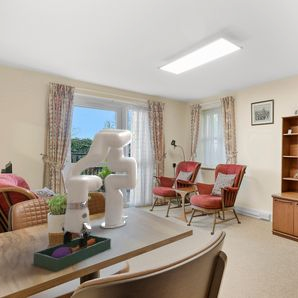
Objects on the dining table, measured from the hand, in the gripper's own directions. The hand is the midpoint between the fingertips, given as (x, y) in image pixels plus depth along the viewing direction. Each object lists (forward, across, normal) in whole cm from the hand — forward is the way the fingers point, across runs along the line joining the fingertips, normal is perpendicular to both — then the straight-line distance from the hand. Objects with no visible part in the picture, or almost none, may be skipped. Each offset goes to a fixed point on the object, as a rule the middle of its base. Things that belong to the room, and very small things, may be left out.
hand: (75, 244), depth 100 cm
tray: (+5, 0, 0) cm, 5 cm away
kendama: (+5, 0, 0) cm, 5 cm away
